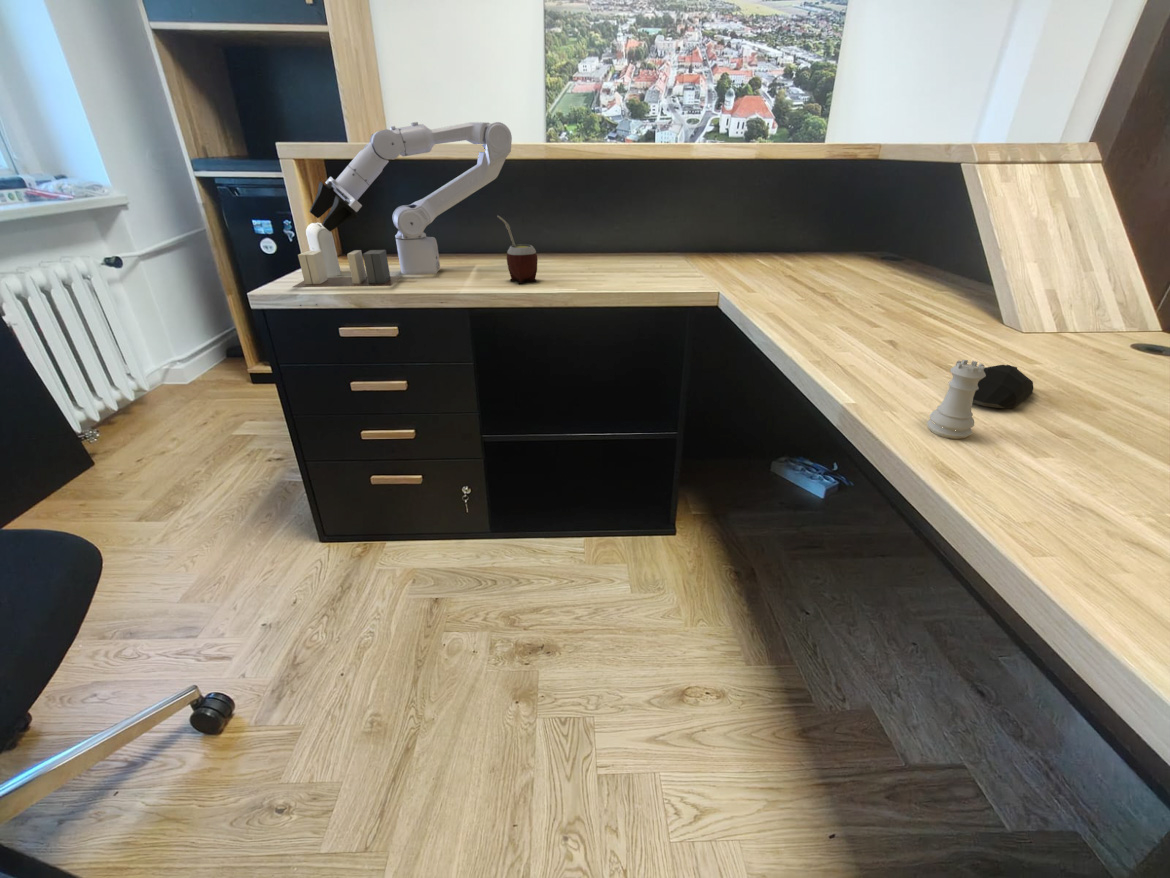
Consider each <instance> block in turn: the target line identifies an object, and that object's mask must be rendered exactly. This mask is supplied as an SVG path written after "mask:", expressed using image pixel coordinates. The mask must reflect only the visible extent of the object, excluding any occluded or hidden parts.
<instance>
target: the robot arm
mask: <svg viewBox="0 0 1170 878" xmlns="http://www.w3.org/2000/svg"><path fill="white" fill-rule="evenodd" d="M410 124H411V125H408V126H401V127H396V126H395V125H391V126H389V129H387V128H384V129H382V130H378V131H376V132H374V133H372V134H371V135H370V138H369V142H368V143H366V144H365V145H364V146H363V149H360V150H359V151H358V153H357V154H356V155H355V156H354V158H353V159H352V160H351V161H350V162H349V163H348V164H347V165H346V166H345V168H344V169H343V170H342V172H341V173H340V174H339V175H338V176H337V178H335V179H334V178H333V177H332V176H329V177H328V178H327V179H326V181H325V184H324V183H323V182H322V180H321V181H319V182H318V188H317V192H316V195H315V198H314V201H313V202H312V205H311V207H310V209H309V213H310V214H311V215H313V216H314V218H316V219H319V218H321V217H322V216H324V214H325V213H326V212H327V211H328V210H329V212H327V215H326V216H325V218H324V219H323V221H322V223H321V224H322V226H323V227H325V228H326V229H327V230H328V231H331V232H332V231H334V230H335V229H337V228H338V227H339V226H341V225H343V224H345V223H346V222H349V221H351V220H355V219H357V218H358V217H359V215H358V214H357V213H358V212H359V210H361V208H362V207H363V204H361V203H360V202H359V201H358V200H359V199H360V198H361V197H362V195H363V194H365V192H366V191H367V190H368V188H370V186H371V185H372V184H373V183H374V181H375V180H376V179H377V178H378V177H379V175H381V174H382V173H383V171H384V170H383V169H384V168H385V167H386V166H387V165H388V163H389V162H390V160H395V159H397V158H398V157H399V156H401V157H408V156H409V157H410V156H414V155H420V154H425V153H427V154H428V153H430V152H431V151H432V149H433V148H434V146H435V145H441V144H447V143H455V142H464V141H467V142H468V143H470V144H472V145H477V144H483V145H482V146H483V147H484V149H486V150H485V152H479V151H478V152H479V155H477V160H476V161H477V162H476V164H475V165H474V166H471V168H469V169H467V170H466V171H464V172H463V173H461V174H460V175H458V176H457V177H455V178H453V179H452V180H450V181H448V182H447V183H445V184H444V185H441V187H439V188H438V189H436V190H433V192H431V193H429V194H428V195H426V196H424V197H423V198H421V199H419V200H416V201H414V202H412V203H411V204H405V205H399V206H398V207H396V208H395V210H394V211H393V212H392V222H393V226H394V227H395V228H396V230H397V233H396V234H395V235H394V237H395V242H396V243H395V244H396V251H397V256H398V260H399V261H398V262H399V268H400V273H401V274H403V275H408V276H409V275H411V276H412V275H435V274H437V273H438V272H439V271H440V270H441V262H440V254H439V246H438V242H437V238H435V237H434V236H427V233H426V232H424V231H425V229H426V227H427V226H429V225H430V224H432V223H433V221H434V220H435V219H436V218H437V217H438V216H440V215H441V214H443V213H444V212H446V211H447V210H449V209H451V208H453V207H454V206H455V205H457V204H459V203H460V202H462V201H463V200H465V199H467V198H468V197H470V196H471V195H472V194H474V193H475V192H477V191H479V190H480V189H482V188H483V187H485V186H487V185H488V184H490V183H491V182H493V181H495V180H496V179H497V178H498V177H499V174H500V172H501V170H502V168H503V166H504V164H505V162H506V159H507V157H508V156H509V155H510V153H511V152H512V141H513V137H512V132H511V130H510V128H509V126H507V125H506V124H505V123H503V122H500V121H495V122H492V123H490V122H481V121H480V122H479V121H475V122H474V121H473V122H464V123H459V124H454V125H449V126H444V127H438V128H433V129H430V128H429V127H427V126H426V125H425V124H424V123H420V124H419V122H418V121H414V122H411V123H410ZM478 157H479V158H478Z"/></svg>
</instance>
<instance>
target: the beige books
mask: <svg viewBox="0 0 1170 878" xmlns="http://www.w3.org/2000/svg"><path fill="white" fill-rule="evenodd" d="M297 257H298V261H299V265H300V270H301V274H302V278H303V281H304V282H305V284H321V283H323V282H324V281H326V280H328V277H327V272H326V268H325V263H324V259H323V254H322V251H310V250H306V251H304V252H302V253H299V254H297Z"/></svg>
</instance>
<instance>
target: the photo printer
mask: <svg viewBox="0 0 1170 878" xmlns="http://www.w3.org/2000/svg"><path fill="white" fill-rule="evenodd" d="M305 235H306V239H307V245H308V249H309V251H322V254H323V259H324V263H325V268H326V272H327V277H339V276H341V275H342V271H341V266H340V262H339V257H338V253H337V248H336V243H335V239H334V235H333V232H332V231H328V230H327V229H326V228H325V227H323V226H322V223H321V222H311V223H309V224H308V225H307V227H306V229H305Z"/></svg>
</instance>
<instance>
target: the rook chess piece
mask: <svg viewBox="0 0 1170 878" xmlns="http://www.w3.org/2000/svg"><path fill="white" fill-rule="evenodd" d="M984 368H985V364H984V363H981V362H980V363H979V364H978V361H975V360H972V361H971V364H969V360H968V359H961V360H957V361H956V363H955V365H954V366H953V367H951V368H950V369H949V370H950V372H951V373H950V374H951V375H952V378H951V380H950V381H949V382H948V389H947V391H946V394H945V396H944V398H943V400H942V402H941V403H940V405H938V406H937V407H936V409H934V410H933V411H931V413H930V414H929V420H927V421H926V425H927V428H928V429H929V431H930V432H931V433H933V434H934V435H937V436H939V437H943V438H946V439H951V440H961V439H965V438H967V437H969V436H971V435H972V434H973V429H972V428H973V427H974V426H975V419H974V417H973V416H974V414H973V412H972V407H973V403H972V402H973V397H974V394H975V391H976V390H978V389H979V388H978V382H979V381H980V380H981V379H982V378H984V377H985V376H986V374H985V372H984ZM932 421H933V422H934V423H935V424H934V423H933V422H932ZM942 427H943V428H942ZM955 430H956V431H955Z"/></svg>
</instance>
